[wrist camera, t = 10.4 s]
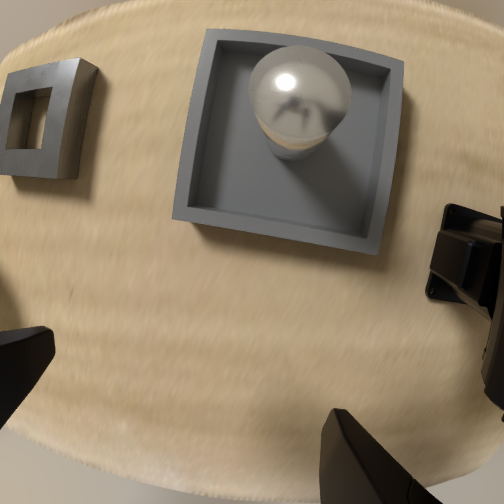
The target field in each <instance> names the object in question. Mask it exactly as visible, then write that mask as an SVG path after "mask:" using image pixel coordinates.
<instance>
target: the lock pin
mask: <svg viewBox="0 0 504 504" xmlns="http://www.w3.org/2000/svg"><path fill="white" fill-rule="evenodd" d="M248 90H249V99H250V102H251V105H252V108H253V110H254V112H255V115H256V117H257V120H258V122H259V125H260V127H261V130H262V132H263V135H264V137H265V140H266V142H267V145H268V147H269V148H270V150H271V151H272V152H273V154H275V155H276V156H277V157H279V158H280V159H282V160H285V161H290V162H297V161H302V160H305V159H307V158H308V157H310V156H311V155H312V154H313V153H314V152H315V151H316V150H317V149H318V148H319V146H320V145H321V144H322V143H323V142H324V141H325V140H326V138H327V137H328V136H329V135H330V134H331V133H332V132H333V130H334V129H335V128H336V127H337V126H338V125H339V124H340V123H341V121H342V120H343V119H344V117H345V116H346V114H347V112H348V110H349V107H350V103H351V86H350V82H349V79H348V77H347V75H346V73H345V71H344V69H343V68H342V67H341V65H340V64H339V63H338V62H337V61H336V60H335V59H333V58H332V57H331V56H329V55H328V54H326V53H325V52H323V51H320V50H318V49H315V48H312V47H307V46H287V47H283V48H279V49H277V50H274V51H272V52H271V53H269V54H267V55H266V56H265V57H263V58H262V59H261V60H260V61H259V62H258V64H257V65H256V66H255V68H254V70H253V72H252V74H251V76H250V80H249V87H248Z"/></svg>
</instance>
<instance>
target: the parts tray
mask: <svg viewBox="0 0 504 504" xmlns="http://www.w3.org/2000/svg"><path fill="white" fill-rule="evenodd" d="M287 46H307V47H312V48H315V49H318V50H320V51H323V52H325V53H326V54H328V55H329V56H331V57H332V58H333V59H335V60H336V61H337V62H338V63H339V64H340V65H341V67H342V68H343V69H344V71H345V73H346V75H347V77H348V79H349V82H350V86H351V103H350V107H349V110H348V112H347V114H346V116H345V117H344V119H343V120H342V121H341V123H340V124H339V125H338V126H337V127H336V128H335V129H334V130H333V132H332V133H331V134H330V135H329V136H328V137H327V138H326V140H325V141H324V142H323V143H322V144H321V145H320V146H319V148H318V149H317V150H316V151H315V152H314V153H313V154H312V155H311V156H310V157H308V158H307V159H305V160H302V161H297V162H290V161H285V160H282V159H280V158H279V157H277V156H276V155H275V154H273V152H272V151H271V150H270V148H269V147H268V145H267V142H266V140H265V137H264V135H263V132H262V130H261V127H260V125H259V122H258V120H257V117H256V115H255V112H254V110H253V108H252V105H251V102H250V99H249V90H248V87H249V80H250V76H251V74H252V72H253V70H254V68H255V66H256V65H257V64H258V62H259V61H260V60H261V59H262V58H263V57H265V56H266V55H267V54H269V53H271V52H272V51H274V50H277V49H279V48H283V47H287ZM403 76H404V61H401V60H398V59H395V58H392V57H388V56H385V55H382V54H378V53H374V52H371V51H367V50H363V49H359V48H355V47H351V46H347V45H343V44H338V43H333V42H328V41H323V40H318V39H313V38H307V37H300V36H294V35H287V34H279V33H270V32H260V31H249V30H233V29H207V30H206V34H205V38H204V42H203V46H202V50H201V54H200V58H199V63H198V67H197V72H196V76H195V81H194V86H193V90H192V95H191V100H190V105H189V111H188V116H187V121H186V127H185V132H184V138H183V144H182V150H181V156H180V163H179V169H178V176H177V183H176V190H175V197H174V205H173V213H172V219H175V220H181V221H187V222H193V223H199V224H205V225H211V226H217V227H222V228H228V229H234V230H240V231H246V232H251V233H257V234H263V235H268V236H274V237H280V238H285V239H291V240H296V241H302V242H307V243H313V244H318V245H323V246H329V247H334V248H339V249H345V250H350V251H355V252H361V253H366V254H371V255H376V256H378V251H379V247H380V242H381V238H382V233H383V228H384V223H385V218H386V213H387V208H388V203H389V197H390V191H391V185H392V179H393V173H394V166H395V159H396V152H397V144H398V136H399V127H400V117H401V106H402V92H403Z"/></svg>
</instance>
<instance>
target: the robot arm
mask: <svg viewBox="0 0 504 504" xmlns="http://www.w3.org/2000/svg"><path fill="white" fill-rule="evenodd" d="M451 208H452V209H453V213H452V214H450V209H451ZM501 217H502V220H501V219H498V218H495V217H493V216H490V215H487V214H484V213H481V212H478V211H475V210H472V209H469V208H466V207H463V206H459V205H456V204H452V203H449V204H447V205H446V206H445V209H444V214H443V219H442V224H441V229H440V231H439V232H438V235H437V239H436V244H435V248H434V252H433V256H432V260H431V264H430V270H431V271H430V275H429V278H428V282H427V285H426V289H425V293H426V295H427V296H428V297H429V298H431V299H436V300H443V301H449V302H456V303H462V304H468V305H469V306H471V307H472V308H473V309H475V310H476V311H477V312H479V313H480V314H481V315H483V316H484V317H485V318H487V319H488V320H489V321H490V322H492V323H491V328H490V333H489V337H488V342H487V346H486V348H485V349H484V352H483V356H482V358H483V366H482V370H481V374H482V378H483V381H484V384H485V389H484V393H485V394H486V395H487V396H488V398H489V399H490V400H491V401H492V402H493V403H494V404H495V405H496V406H497V407H499V408H500V409H501V410H503V411H504V206H501ZM433 288H434V292H433V293H431V290H432V289H433ZM54 356H55V341H54V333H53V331H52V330H51V329H49V328H47V327H45V326H37V327H30V328H23V329H16V330H9V331H1V332H0V430H1V428H2V427H3V426H4V424H5V423H6V422H7V420H8V419H9V418H10V417H11V415H12V414H13V413H14V411H15V410H16V409H17V408H18V406H19V405H20V404H21V403H22V401H23V400H24V399H25V398H26V396H27V395H28V394H29V393H30V392H31V390H32V389H33V388H34V386H35V385H36V383H37V382H38V380H39V379H40V377H41V376H42V374H43V373H44V371H45V370H46V368H47V367H48V365H49V364H50V362H51V361H52V359H53V358H54ZM502 421H503V422H504V414H503V416H502ZM319 483H320V499H321V504H443V503H442V502H440V501H439V500H438V499H436V498H435V497H434V496H433V495H432V494H430V493H429V492H428V491H427V490H426V489H425V488H424V487H423V486H422V485H421V484H420V483H419V482H418V481H417V480H416V479H413V477H412V476H411V475H410V474H409V473H408V472H407V471H406V470H405V469H404V468H403V467H402V466H401V465H400V464H399V463H398V462H397V461H396V460H395V459H394V458H393V457H392V456H391V455H390V454H389V453H388V452H387V451H386V450H385V449H384V448H383V447H382V446H381V445H380V444H379V443H378V442H377V441H376V440H375V439H374V438H373V437H372V436H371V435H370V434H369V433H368V432H367V431H366V430H365V429H364V428H363V427H362V425H361V424H360V423H359V422H358V421H357V420H356V419H355V418H354V417H353V416H352V415H351V414H350V413H349V412H348V411H347V410H345V409H338V408H334V409H332V410H331V411H330V413H329V416H328V418H327V420H326V422H325V424H324V426H323V429H322V433H321V452H320V468H319Z"/></svg>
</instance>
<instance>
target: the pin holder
mask: <svg viewBox="0 0 504 504" xmlns="http://www.w3.org/2000/svg"><path fill="white" fill-rule="evenodd" d="M97 70H98V67H97V66H95V65H93V64H91V63H89V62H87V61H86V60H84V59H82V58H74V59H69V60H63V61H58V62H53V63H48V64H44V65H40V66H35V67H31V68H27V69H24V70H20V71H16V72H13V73H9V74H8V76H7V80H6V83H5V87H4V91H3V95H2V100H1V104H0V175H13V176H27V177H40V178H52V179H76V178H78V170H79V162H80V154H81V148H82V141H83V135H84V129H85V124H86V118H87V113H88V108H89V104H90V99H91V94H92V90H93V86H94V82H95V78H96V74H97ZM45 96H51V97H50V102H49V106H48V111H47V116H46V121H45V127H44V133H43V139H42V145H41V149H26V143H27V136H28V130H29V125H30V119H31V114H32V109H33V104H34V100H35V98H38V97H45Z"/></svg>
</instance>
